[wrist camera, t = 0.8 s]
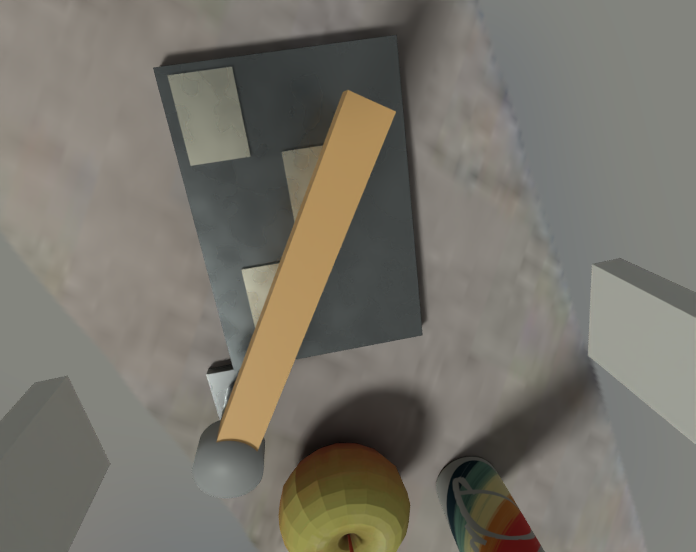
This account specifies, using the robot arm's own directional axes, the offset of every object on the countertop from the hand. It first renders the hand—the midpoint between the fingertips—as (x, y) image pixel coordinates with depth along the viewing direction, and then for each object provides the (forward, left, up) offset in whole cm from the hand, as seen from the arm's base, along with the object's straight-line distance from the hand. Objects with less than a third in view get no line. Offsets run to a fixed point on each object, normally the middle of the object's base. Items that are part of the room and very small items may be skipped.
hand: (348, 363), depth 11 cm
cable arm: (+4, -2, -14) cm, 14 cm away
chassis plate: (+1, 0, -20) cm, 20 cm away
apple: (+23, -1, -20) cm, 30 cm away
